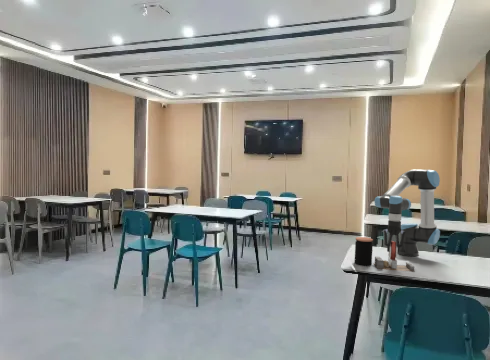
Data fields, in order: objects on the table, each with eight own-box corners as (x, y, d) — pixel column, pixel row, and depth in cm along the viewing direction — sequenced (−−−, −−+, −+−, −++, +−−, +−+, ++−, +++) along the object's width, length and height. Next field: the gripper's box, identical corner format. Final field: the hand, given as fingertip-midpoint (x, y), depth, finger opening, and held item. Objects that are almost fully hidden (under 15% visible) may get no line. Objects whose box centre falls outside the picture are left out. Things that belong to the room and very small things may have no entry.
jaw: (387, 264, 235) (389, 240, 235) (392, 264, 235) (394, 240, 234) (391, 268, 226) (392, 242, 226) (396, 268, 226) (398, 243, 225)
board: (373, 265, 238) (373, 255, 238) (408, 268, 236) (408, 258, 235) (377, 271, 226) (378, 260, 225) (414, 273, 223) (415, 263, 222)
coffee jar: (373, 265, 238) (374, 238, 238) (368, 269, 229) (370, 241, 229) (357, 262, 244) (358, 236, 244) (352, 266, 235) (353, 238, 235)
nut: (381, 265, 233) (381, 259, 233) (387, 266, 233) (388, 259, 233) (382, 267, 229) (383, 261, 229) (389, 267, 229) (389, 261, 229)
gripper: (382, 220, 227) (380, 257, 228) (410, 221, 225) (408, 259, 226) (379, 218, 234) (378, 254, 235) (406, 220, 232) (404, 256, 233)
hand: (392, 257), depth 230 cm, fingers closed on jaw, 3 cm apart
